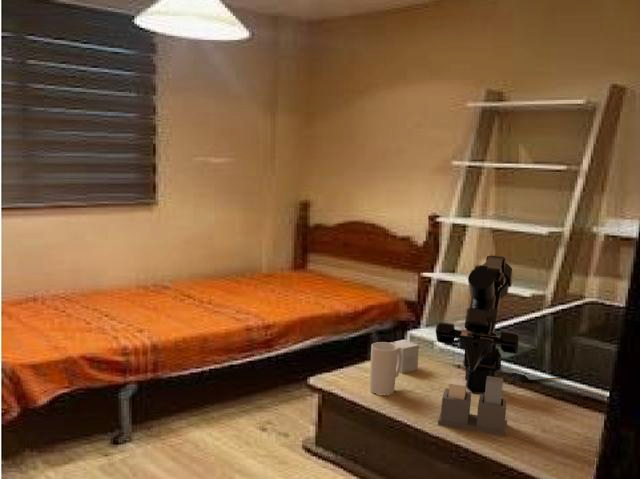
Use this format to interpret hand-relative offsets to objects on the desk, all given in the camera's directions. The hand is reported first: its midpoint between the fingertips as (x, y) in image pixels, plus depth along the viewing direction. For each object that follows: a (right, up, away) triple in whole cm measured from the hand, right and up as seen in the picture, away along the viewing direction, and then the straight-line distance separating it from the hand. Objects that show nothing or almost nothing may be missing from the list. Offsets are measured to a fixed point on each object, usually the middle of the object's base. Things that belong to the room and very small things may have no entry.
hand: (471, 370), depth 142 cm
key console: (+1, -13, +2) cm, 13 cm away
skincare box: (-11, -7, +36) cm, 38 cm away
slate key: (+5, -9, 0) cm, 10 cm away
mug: (-17, -9, +20) cm, 28 cm away
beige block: (-3, -10, +3) cm, 11 cm away
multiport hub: (+26, -9, +34) cm, 44 cm away
